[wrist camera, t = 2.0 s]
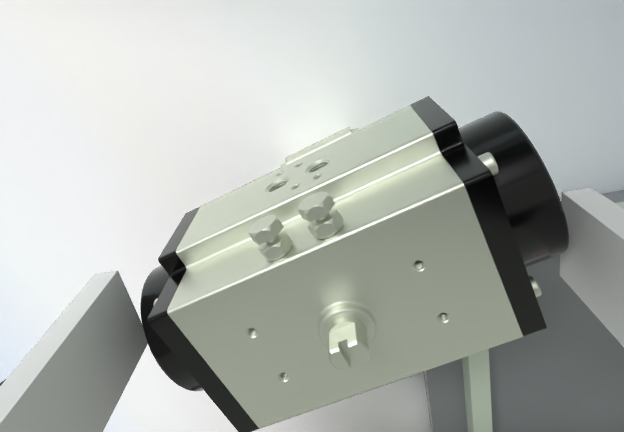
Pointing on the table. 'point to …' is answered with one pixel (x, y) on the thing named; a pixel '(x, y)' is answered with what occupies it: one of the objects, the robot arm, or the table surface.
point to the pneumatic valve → (356, 265)
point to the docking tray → (537, 372)
